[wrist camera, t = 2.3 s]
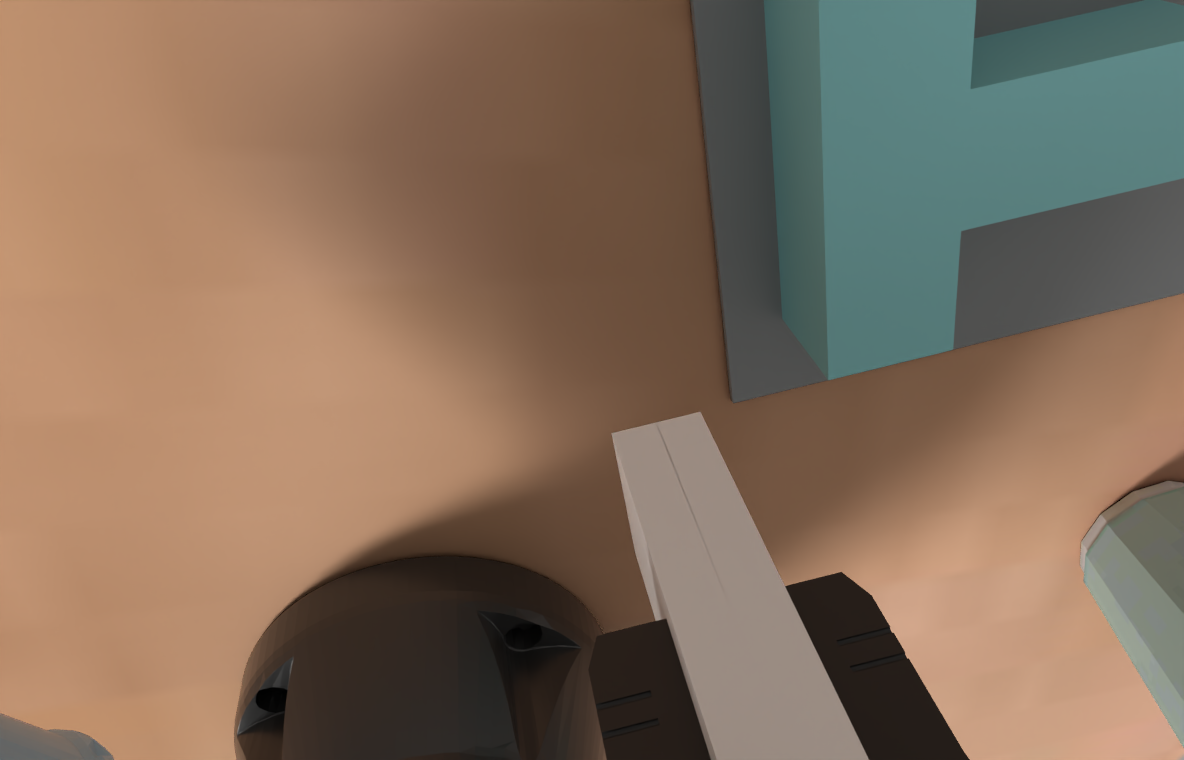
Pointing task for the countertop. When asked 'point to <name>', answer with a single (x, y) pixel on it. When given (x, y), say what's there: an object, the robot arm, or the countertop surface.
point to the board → (987, 253)
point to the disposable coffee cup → (1144, 587)
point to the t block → (945, 150)
